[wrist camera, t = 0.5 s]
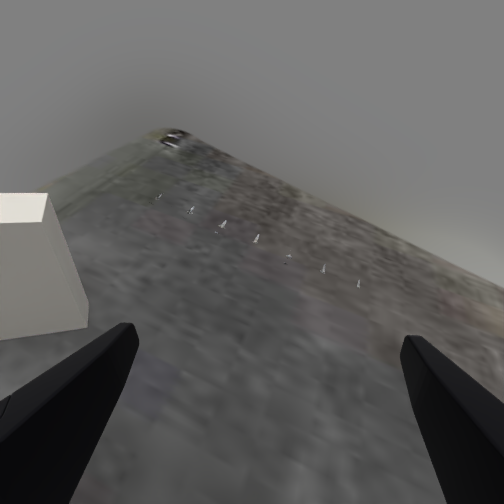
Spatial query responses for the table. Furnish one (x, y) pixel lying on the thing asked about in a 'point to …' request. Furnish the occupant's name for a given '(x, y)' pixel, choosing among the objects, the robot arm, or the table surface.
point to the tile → (36, 270)
